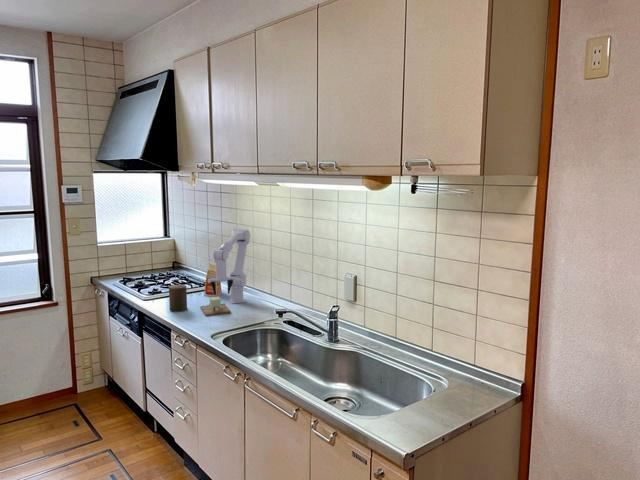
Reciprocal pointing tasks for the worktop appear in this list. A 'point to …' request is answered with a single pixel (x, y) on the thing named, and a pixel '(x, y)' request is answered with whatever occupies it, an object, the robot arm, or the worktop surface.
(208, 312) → the cleat board
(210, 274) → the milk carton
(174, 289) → the pillar candle
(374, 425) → the worktop surface
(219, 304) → the saddle block
